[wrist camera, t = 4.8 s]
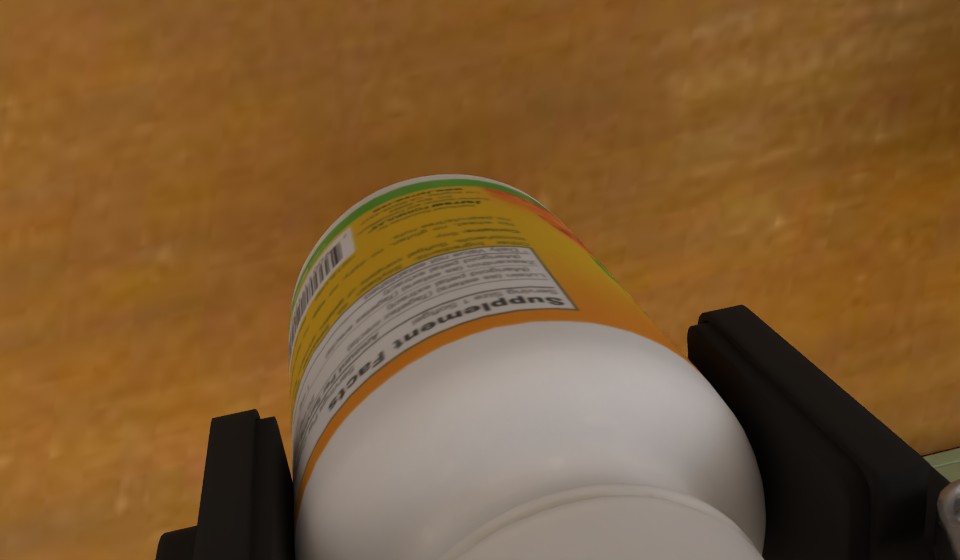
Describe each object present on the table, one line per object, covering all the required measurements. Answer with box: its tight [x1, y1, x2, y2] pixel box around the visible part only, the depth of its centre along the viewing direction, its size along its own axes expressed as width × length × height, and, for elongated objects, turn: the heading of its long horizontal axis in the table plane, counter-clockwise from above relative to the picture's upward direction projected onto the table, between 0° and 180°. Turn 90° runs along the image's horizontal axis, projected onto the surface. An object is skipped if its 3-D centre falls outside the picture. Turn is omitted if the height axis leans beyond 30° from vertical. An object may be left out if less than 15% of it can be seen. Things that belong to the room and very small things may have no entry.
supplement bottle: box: [289, 174, 766, 560], centre depth 12 cm, size 5×5×10 cm
